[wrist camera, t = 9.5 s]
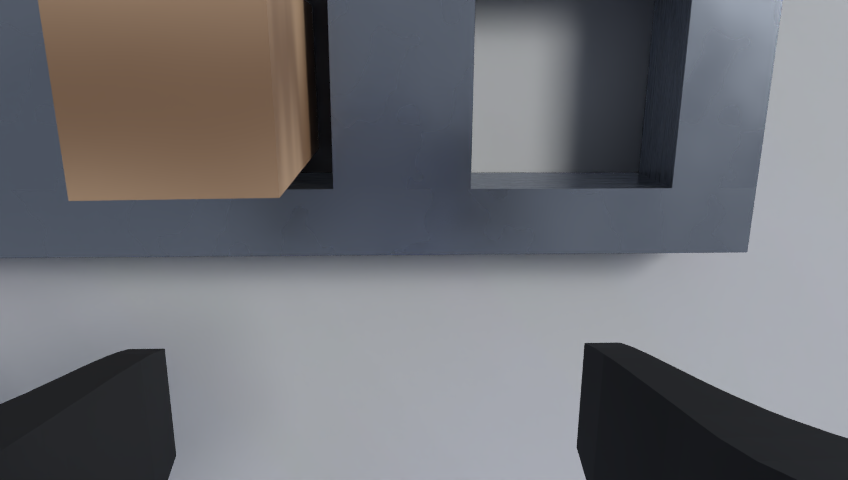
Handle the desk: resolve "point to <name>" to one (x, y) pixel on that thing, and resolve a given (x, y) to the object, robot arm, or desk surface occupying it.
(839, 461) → the robot arm
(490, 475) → the desk surface
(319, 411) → the desk surface
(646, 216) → the grey square hole board
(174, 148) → the square peg
